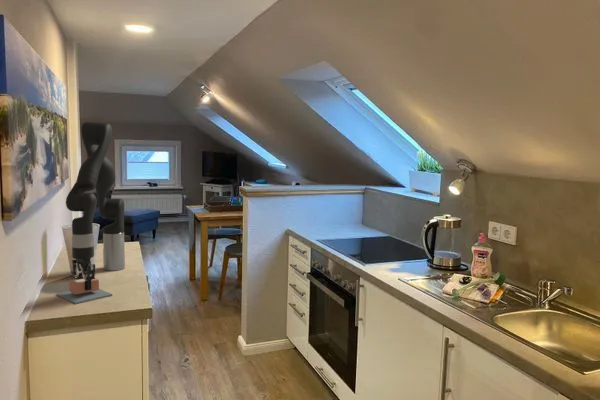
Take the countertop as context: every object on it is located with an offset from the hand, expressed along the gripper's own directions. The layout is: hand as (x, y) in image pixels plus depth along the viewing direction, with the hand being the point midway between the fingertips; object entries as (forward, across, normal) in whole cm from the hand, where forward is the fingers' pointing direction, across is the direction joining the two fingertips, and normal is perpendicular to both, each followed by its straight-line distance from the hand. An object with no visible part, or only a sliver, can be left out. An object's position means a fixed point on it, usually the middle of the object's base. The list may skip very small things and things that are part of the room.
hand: (84, 288), depth 179 cm
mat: (+3, 0, 0) cm, 3 cm away
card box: (+1, 0, 0) cm, 1 cm away
